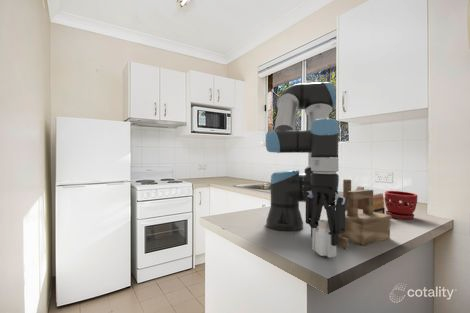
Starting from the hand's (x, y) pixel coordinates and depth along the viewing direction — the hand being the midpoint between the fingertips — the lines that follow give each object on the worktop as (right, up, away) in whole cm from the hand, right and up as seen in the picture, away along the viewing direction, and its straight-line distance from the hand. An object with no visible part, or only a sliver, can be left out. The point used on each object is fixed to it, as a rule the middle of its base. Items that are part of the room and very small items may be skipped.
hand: (323, 252), depth 71 cm
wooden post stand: (+20, +6, +18) cm, 27 cm away
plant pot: (+55, -2, +48) cm, 73 cm away
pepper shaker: (0, -1, 0) cm, 1 cm away
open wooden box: (+20, -1, +18) cm, 27 cm away
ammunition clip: (+41, -2, +43) cm, 60 cm away
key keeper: (+5, -1, +7) cm, 9 cm away
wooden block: (+33, -2, +50) cm, 60 cm away
